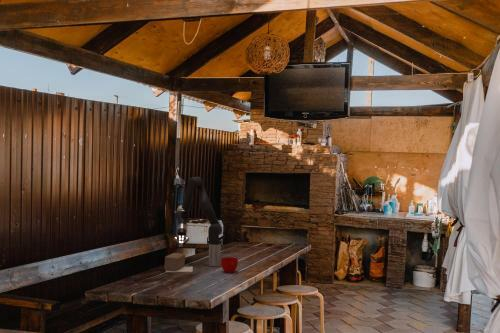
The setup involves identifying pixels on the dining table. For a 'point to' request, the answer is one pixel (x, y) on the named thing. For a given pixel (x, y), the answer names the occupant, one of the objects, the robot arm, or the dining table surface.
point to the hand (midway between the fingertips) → (180, 247)
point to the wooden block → (174, 261)
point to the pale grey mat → (182, 269)
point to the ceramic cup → (229, 264)
